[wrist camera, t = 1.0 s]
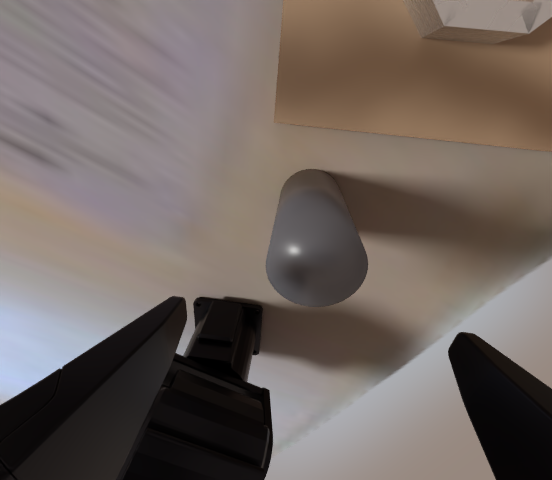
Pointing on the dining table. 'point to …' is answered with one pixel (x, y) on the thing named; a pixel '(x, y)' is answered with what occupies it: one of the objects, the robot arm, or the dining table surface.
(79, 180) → the dining table surface
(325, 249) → the grey rounded plug
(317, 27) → the tan square board
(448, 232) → the dining table surface
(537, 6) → the aluminium collar
